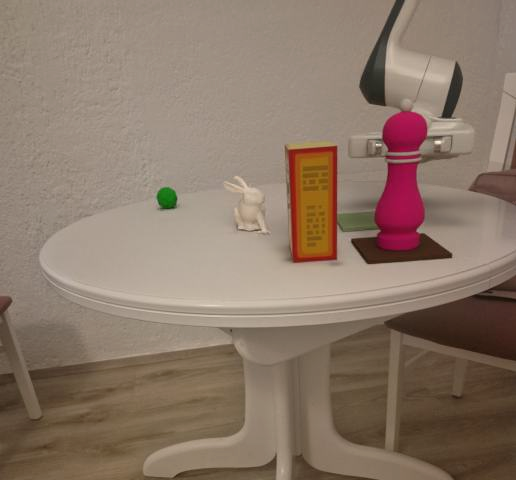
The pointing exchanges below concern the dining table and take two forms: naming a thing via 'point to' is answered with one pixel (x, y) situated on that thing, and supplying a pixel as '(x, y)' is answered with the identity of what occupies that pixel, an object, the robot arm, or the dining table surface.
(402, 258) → the dark mat
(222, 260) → the dining table surface
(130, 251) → the dining table surface
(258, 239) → the dining table surface
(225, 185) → the rabbit figurine
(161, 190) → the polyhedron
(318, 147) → the baking soda box
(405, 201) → the pepper mill
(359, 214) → the sage mat
